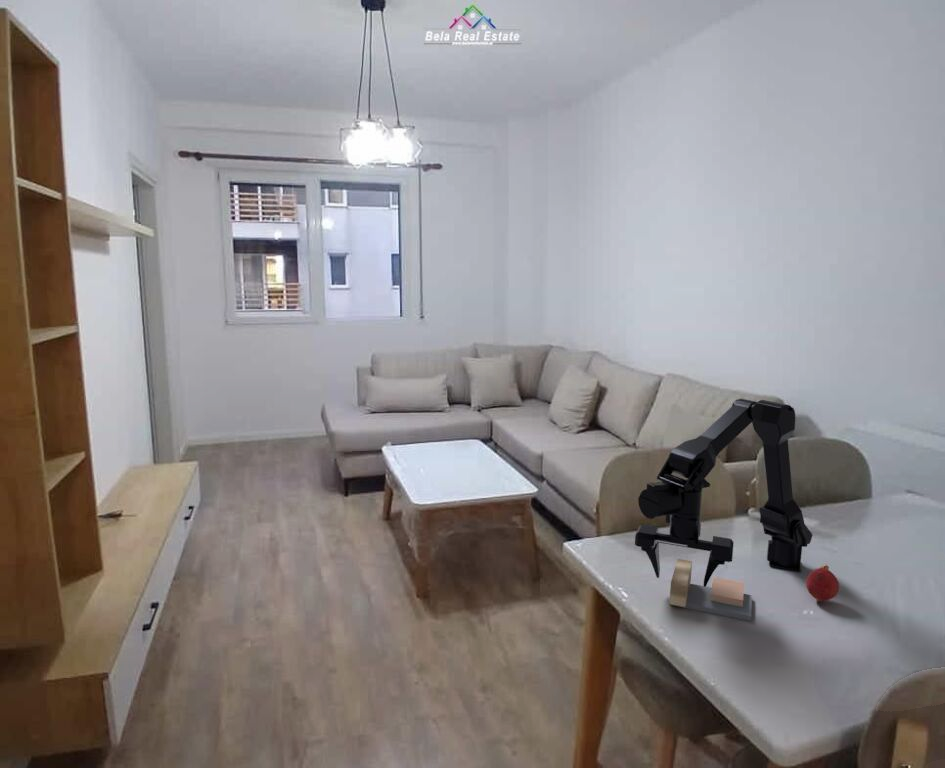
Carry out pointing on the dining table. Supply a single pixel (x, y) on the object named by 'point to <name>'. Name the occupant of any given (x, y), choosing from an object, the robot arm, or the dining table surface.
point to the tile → (727, 592)
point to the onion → (822, 584)
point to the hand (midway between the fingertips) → (681, 581)
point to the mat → (716, 603)
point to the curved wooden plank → (680, 582)
